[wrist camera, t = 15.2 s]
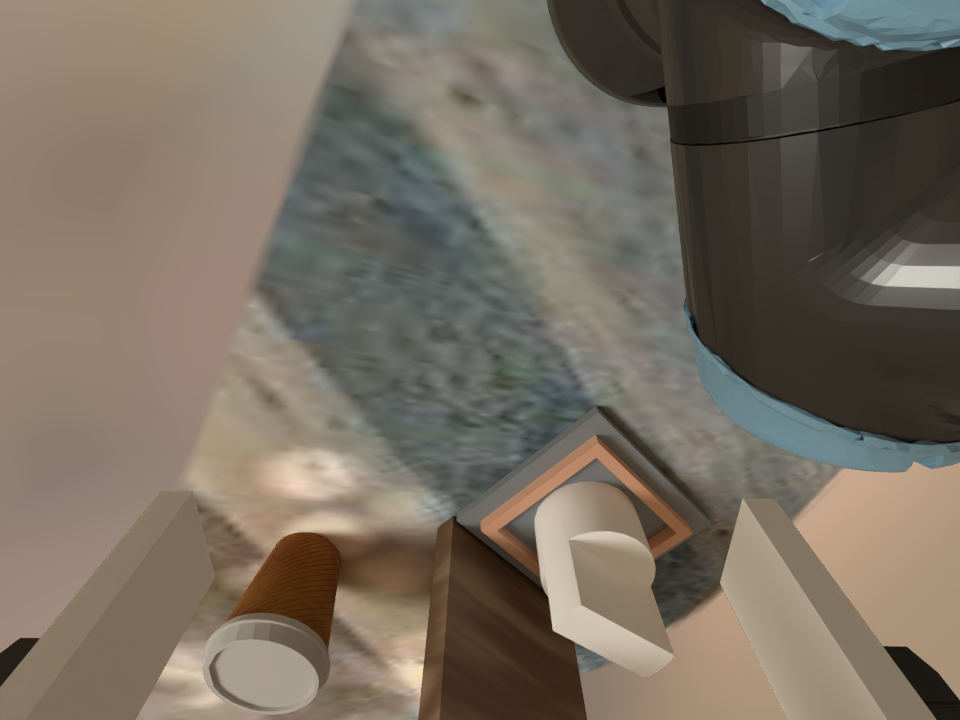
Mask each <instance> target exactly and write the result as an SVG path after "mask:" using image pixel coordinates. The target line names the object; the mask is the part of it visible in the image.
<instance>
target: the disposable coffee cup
mask: <svg viewBox="0 0 960 720" xmlns="http://www.w3.org/2000/svg"><path fill="white" fill-rule="evenodd" d="M340 563H341V560H340V555H339V552H338V551H337V549H336V548H335V547H334V545H333V544H332V543H330V542H329V541H328V540H326V539H324V538H322V537H320V536H318V535H315V534H309V533H295V534H291V535H288V536H286V537H284V538H283V539H281V540H280V541H279V542H278V543H277V544H276V546H275V548H274V549H273V551H272V552H271V554H270V555H269V557H268V558H267V560H266V561H265V563H264V564H263V566H262V567H261V569H260V570H259V572H258V573H257V575H256V576H255V578H254V579H253V581H252V582H251V584H250V586H249V587H248V589H247V590H246V592H245V593H244V595H243V596H242V598H241V599H240V601H239V602H238V604H237V605H236V607H235V608H234V610H233V611H232V613H231V614H230V616H229V617H228V619H227V620H226V622H225V623H224V624H223V625H222V626H221V627H220V628H219V629H218V630H216V631H215V632H214V633H213V634H212V635H211V637H210V638H209V640H208V641H207V643H206V646H205V649H204V659H205V662H204V667H203V673H204V678H205V681H206V683H207V685H208V687H209V688H210V689H211V691H212V692H213V693H214V694H215V695H216V696H218V697H219V698H220V699H222V700H223V701H224V702H226V703H228V704H230V705H232V706H234V707H236V708H239V709H242V710H245V711H248V712H253V713H258V714H269V715H273V714H283V713H289V712H292V711H296V710H298V709H300V708H302V707H304V706H306V705H307V704H309V703H310V702H311V701H312V700H313V699H314V697H315V695H316V694H317V692H318V690H319V689H321V687H322V686H323V685H324V684H325V683H326V681H327V679H328V676H329V672H330V660H329V655H328V646H329V639H330V632H331V626H332V622H331V621H332V618H333V611H334V604H335V596H336V591H337V583H338V576H339V569H340Z"/></svg>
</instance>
